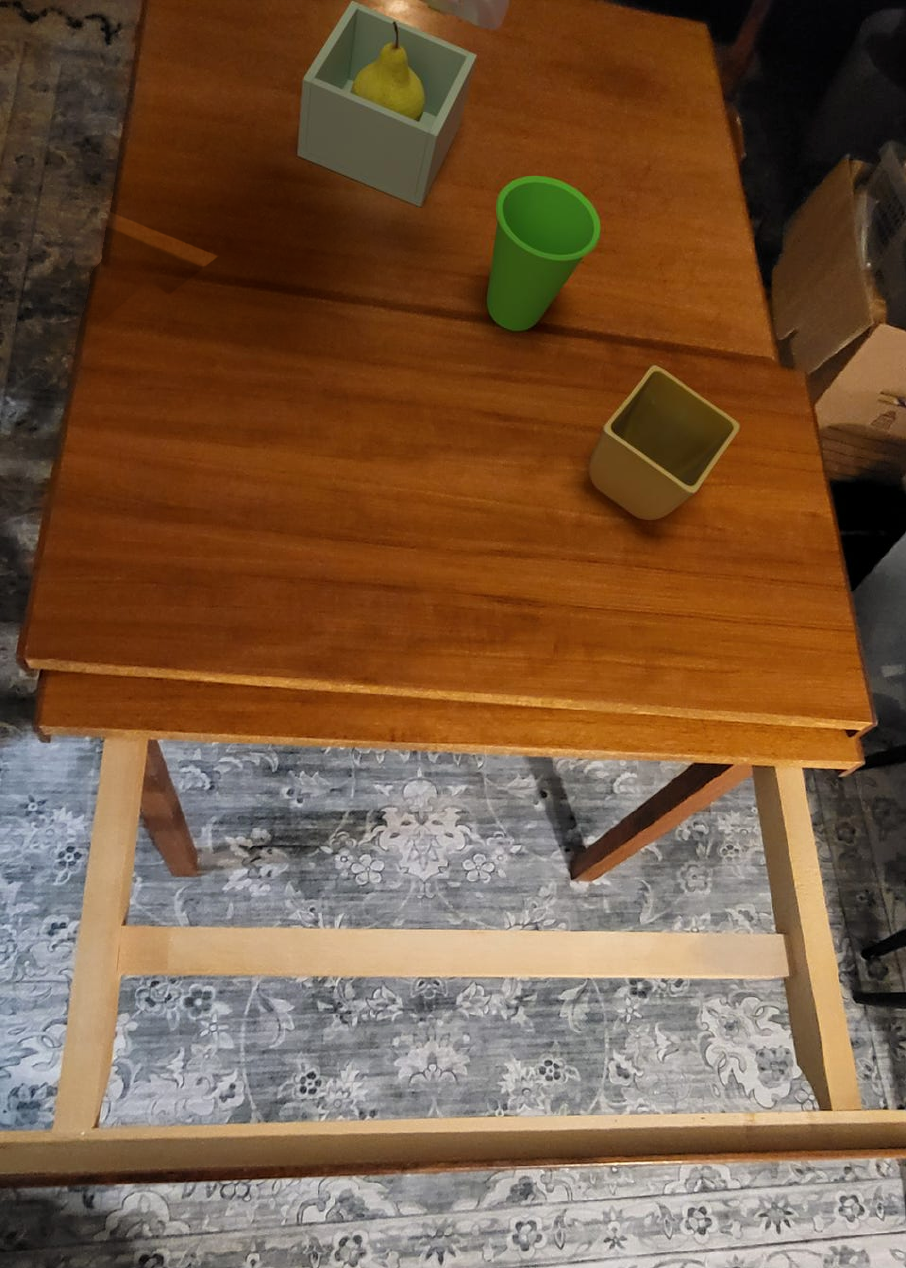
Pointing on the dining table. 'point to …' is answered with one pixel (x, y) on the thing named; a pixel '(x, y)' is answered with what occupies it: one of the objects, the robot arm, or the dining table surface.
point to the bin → (370, 133)
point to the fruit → (391, 82)
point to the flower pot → (659, 446)
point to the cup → (537, 247)
